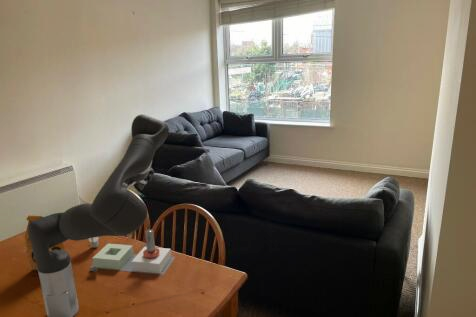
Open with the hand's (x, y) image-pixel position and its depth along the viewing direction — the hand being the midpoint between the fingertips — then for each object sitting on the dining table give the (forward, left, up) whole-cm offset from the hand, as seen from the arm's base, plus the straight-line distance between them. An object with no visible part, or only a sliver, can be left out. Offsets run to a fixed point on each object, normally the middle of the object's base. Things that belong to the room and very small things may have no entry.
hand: (129, 192), depth 129 cm
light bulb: (+27, +17, -33) cm, 46 cm away
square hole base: (+6, +2, -33) cm, 33 cm away
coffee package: (+16, +33, -33) cm, 49 cm away
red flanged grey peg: (+2, -5, -31) cm, 32 cm away
